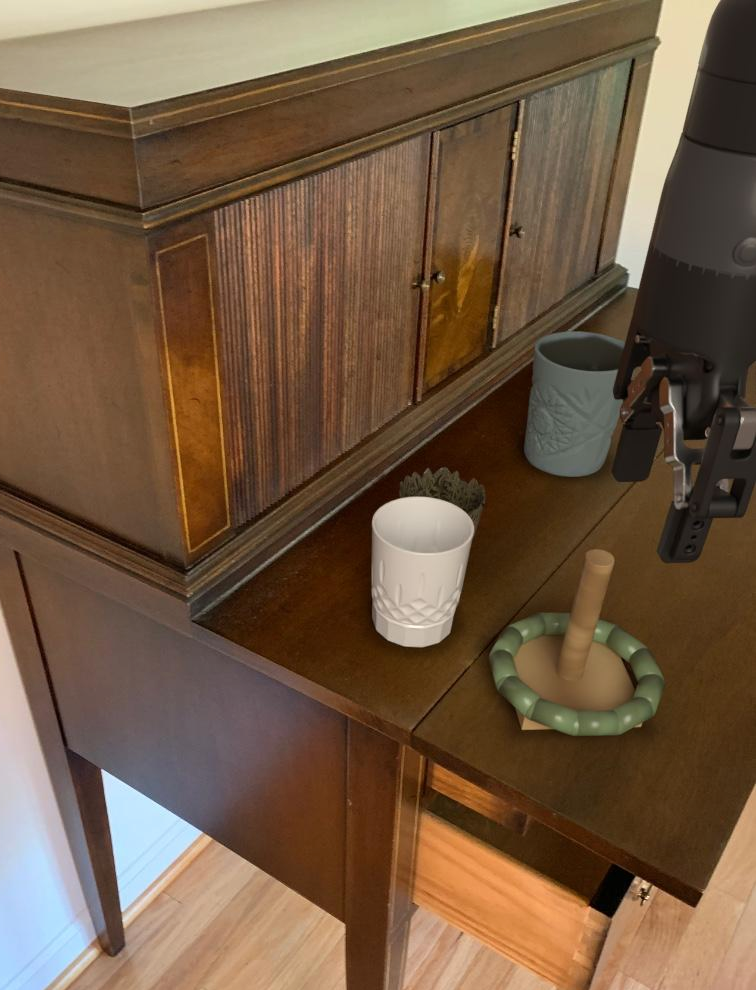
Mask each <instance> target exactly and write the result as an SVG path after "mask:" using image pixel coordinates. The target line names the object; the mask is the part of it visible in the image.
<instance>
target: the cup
mask: <svg viewBox="0 0 756 990" xmlns="http://www.w3.org/2000/svg"><path fill="white" fill-rule="evenodd" d="M398 496H399V497H398V499H400V498H405V497H430V498H436V499H440V500H444V501H447V502H449V503H452V504H454V505H456V506H458V507H459V508H461V509H462V510H463V511H465V512H466V513H467V514H468V515H469V517H470V518H471V520H472V521H473V524H474V535H473V539H472V541H473V540H474V537H475V535H476V532H477V529H478V526H479V523H480V519H481V516H482V513H483V509H484V505H485V503H486V499H487V496H486V488H485V485H484V484H479V483H478V480H477V479H476V478H475V477H473V478H471V479H470V481H469V483H467V481H465V480H461V478H460V472H459V471H458V470H455V471H454V472H452V473H451V471H449V469H448V468H447V467H446V466H443V467H440V468H439V469H438V470H436V472H435V473H432V470H431V469H430V468H429V467H427V468H426V469H425V470H424V472H423V475H422V477H421V475H420V474H419V472H417V471H414V472H412V475H411V476H409V475H408V474H407V475H406V476H405V478H404V480H403V481H400V482H399V490H398Z"/></svg>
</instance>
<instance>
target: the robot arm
mask: <svg viewBox="0 0 756 990" xmlns="http://www.w3.org/2000/svg"><path fill="white" fill-rule="evenodd" d="M697 64H698V66H697V69H696V74H695V78H694V82H693V86H692V90H691V95H690V97H689V102H688V107H687V111H686V114H685V117H684V118H685V119H684V123H683V126H682V132H681V133H680V137H679V140H678V144H677V146H676V149H675V152H674V155H673V157H672V160H671V162H670V165H669V168H668V169H667V170H668V171H667V173H666V176H665V179H664V182H663V186H662V190H661V192H660V197H659V201H658V206H657V210H656V214H655V218H654V223H653V227H652V231H651V236H650V240H649V243H648V248H647V252H646V256H645V260H644V264H643V269H642V271H641V272H642V273H641V278H640V281H639V284H638V290H637V294H636V297H635V302H634V305H633V309H632V315H631V319H630V323H629V326H628V327H629V328H628V330H627V334H626V339H625V341H624V342H625V345H624V349H623V353H622V357H621V360H620V364H619V368H618V372H617V375H616V379H615V383H614V387H613V395H614V398H615V399H616V400H623V403H622V405H621V408H620V412H619V414H620V416H619V420H620V422H621V423H622V427H621V431H620V434H619V439H618V443H617V446H616V447H617V448H616V451H615V455H614V459H613V462H612V467H611V474H612V476H613V478H614V480H615V481H616V482H618V483H639V482H641V483H642V482H645V481H646V480H647V479H648V478H649V477H650V475H651V471H652V468H653V464H654V460H655V457H656V453H657V449H658V446H659V443H660V440H661V435H662V433H663V459H664V462H665V463H666V464H667V465H668V466H670V467H671V468H672V470H673V472H672V473H673V475H672V476H673V480H672V481H673V500H672V501H671V503H670V505H669V508H668V512H667V515H666V519H665V522H664V525H663V529H662V532H661V535H660V538H659V542H658V545H657V548H656V554H657V555H658V557H659V559H660V560H661V562H662V563H664V564H690V563H694V562H696V561H697V560H699V558H700V557H701V554H702V552H703V550H704V546H705V544H706V540H707V538H708V535H709V532H710V529H711V527H712V523H713V520H714V519H741V518H744V516H745V515H746V513H747V510H748V506H749V504H750V501H751V498H752V495H753V491H754V488H755V486H756V406H751V404H750V403H748V402H747V401H746V400H745V399H746V393H747V380H748V375H749V369H750V368H751V366H752V365H753V364H754V363H755V362H756V0H719V2H718V3H717V5H716V6H715V8H714V11H713V13H712V14H711V18H710V20H709V23H708V26H707V30H706V32H705V36H704V39H703V43H702V47H701V51H700V55H699V59H698V63H697ZM639 367H640V368H641V369H640V371H639V373H638V374H637V375H636V376H635V377H634V378H632V374H633V371H634V369H635V368H636V369H637V368H639ZM631 378H632V380H631ZM660 424H661V426H662V427H661V426H660ZM703 440H706V444H705V447H704V448H690V447H689V446H688V445H686V444H685V441H703ZM696 465H697V466H699V467H698V471H697V476H696V478H695V481H694V485H693V466H696ZM730 480H732V483H731V487H730Z"/></svg>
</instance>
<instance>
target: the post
mask: <svg viewBox="0 0 756 990" xmlns="http://www.w3.org/2000/svg"><path fill="white" fill-rule="evenodd" d="M615 561H616V559H615V557H614V555H613V554H612V553H611V552H609V551H606V550H604V549H598V548H595V549H590V550H588V551H586V553H585V554H584V558H583V562H582V566H581V570H580V573H579V578H578V582H577V586H576V589H575V594H574V596H573V602H572V605H571V609H570V612H571V613H570V617H569V621H568V625H567V629H566V633H565V635H542V636H540V637H538V638H536V639H533V640H531V641H529V642H527V643H525V644H523V645H521V647H520V649H519V651H518V652H517V654H516V656H515V658H514V662H515V666H516V669H517V672H518V676H519V678H520V679H521V680H522V681H523V682H524V683H525V684H526V685H528V686H529V687H530V688H531V689H532V690H533V691H534V692H535V693H537V694H538V695H539V696H540V697H541V698H543V699H546V700H549V701H551V702H554V703H557V704H560V705H563V706H565V707H568V708H571V709H574V710H612V709H614V708H616V707H617V706H619V705H621V704H623V703H625V702H627V701H629V700H631V699H632V698H633V696H634V693H635V690H636V688H635V686H634V684H633V681H632V679H631V677H630V675H629V672H628V670H627V668H626V666H625V664H624V661H623V658H622V657H621V656H619V655H618V654H617V653H616V652H614V651H613V650H612V649H611V648H609V647H608V646H607V645H604V644H601V643H598V642H595V641H592V640H593V637H594V633H595V630H596V626H597V622H598V619H600V616H601V615H600V614H601V611H602V608H603V605H604V601H605V597H606V593H607V590H608V587H609V583H610V579H611V576H612V572H613V568H614V565H615ZM514 709H515V711H516V715H517V716H516V717H517V719H518V723H519V725H520V729H521V730H522V731H530V730H531V731H532V730H533V731H534V730H553V729H552V728H550V727H547V726H544V725H541V724H539V723H536V722H533V721H531V720H529V719H527V718H526V717H525V716H524V715H523V714H522V713H521V712H519V711H518V710H517V709H516V708H515V707H514ZM642 726H643V723H641V724H639V725H637V726H635V727H634V728H642Z"/></svg>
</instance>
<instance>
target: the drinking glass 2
mask: <svg viewBox="0 0 756 990" xmlns="http://www.w3.org/2000/svg"><path fill="white" fill-rule="evenodd" d="M624 345H625V341H623V340H621V339H618V338H615V337H612V336H609V335H606V334H602V333H596V332H589V331H582V330H581V331H579V330H578V331H576V330H575V331H574V330H573V331H561V332H555V333H550V334H547V335H545V336H542V337H541V338H539V339H538V340H537V341H536V342H535V344H534V349H533V350H534V351H533V362H532V377H531V384H532V387H531V388H530V391H529V392H530V393H529V399H528V410H527V418H526V419H527V420H526V429H525V437H524V446H523V453H524V456H525V458H526V460H527V461H528V462H529V463H530V465H532V466H533V467H535V468H536V469H538V470H540V471H542V472H544V473H547V474H550V475H554V476H559V477H568V478H571V477H572V478H573V477H574V478H575V477H577V478H578V477H584V476H589V475H592V474H594V473H597V472H598V471H599V470H600V469H602V468H603V466H604V464H605V462H606V459H607V456H608V453H609V450H610V448H611V445H612V436H613V435H614V433H615V430H616V428H617V425H618V422H619V419H620V414H619V412H620V408H621V405H622V403H623V400H616V399H615V398H614V395H613V387H614V383H615V379H616V375H617V372H618V368H619V364H620V360H621V357H622V353H623V349H624ZM636 369H637V368H635V369H634V371H633V374H632V378H631V380H633V379H634V375H635V373H636Z"/></svg>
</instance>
